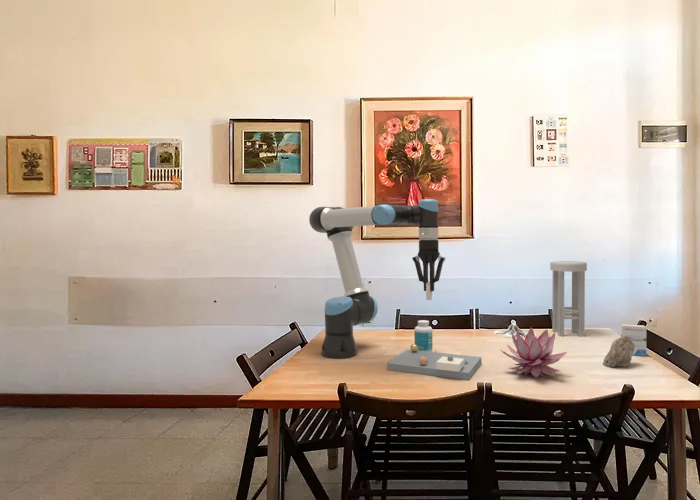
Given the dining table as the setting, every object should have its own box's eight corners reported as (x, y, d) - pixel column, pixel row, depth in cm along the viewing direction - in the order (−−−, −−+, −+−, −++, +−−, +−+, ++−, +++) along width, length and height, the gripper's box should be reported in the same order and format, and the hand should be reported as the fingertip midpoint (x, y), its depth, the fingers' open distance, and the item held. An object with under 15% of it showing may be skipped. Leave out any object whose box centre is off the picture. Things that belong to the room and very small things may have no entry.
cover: (436, 369, 165) (436, 358, 165) (442, 363, 172) (442, 353, 172) (458, 371, 161) (458, 361, 161) (464, 365, 168) (464, 355, 168)
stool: (546, 330, 237) (547, 261, 236) (579, 330, 235) (579, 260, 234) (555, 337, 222) (556, 263, 221) (590, 337, 220) (591, 263, 219)
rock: (628, 355, 167) (605, 344, 172) (619, 378, 171) (597, 366, 177) (643, 340, 175) (620, 330, 181) (634, 362, 180) (613, 352, 185)
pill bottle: (432, 355, 193) (432, 323, 192) (414, 355, 194) (413, 322, 194) (432, 351, 200) (432, 319, 200) (415, 350, 202) (414, 319, 201)
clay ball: (417, 365, 171) (417, 356, 170) (420, 363, 173) (420, 354, 173) (426, 366, 169) (426, 357, 169) (429, 364, 172) (428, 355, 172)
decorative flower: (560, 387, 153) (561, 341, 152) (494, 377, 164) (494, 334, 164) (569, 369, 171) (569, 328, 170) (509, 361, 182) (509, 323, 182)
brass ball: (409, 352, 189) (409, 344, 189) (411, 350, 192) (411, 342, 192) (416, 353, 187) (416, 345, 187) (419, 351, 190) (419, 343, 190)
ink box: (644, 353, 191) (644, 325, 191) (646, 356, 187) (646, 327, 186) (620, 351, 195) (620, 323, 194) (621, 354, 190) (622, 325, 190)
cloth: (545, 338, 223) (545, 325, 222) (511, 341, 218) (511, 328, 217) (516, 329, 244) (516, 317, 244) (484, 331, 239) (484, 319, 239)
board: (387, 369, 175) (387, 363, 174) (407, 355, 194) (407, 349, 194) (468, 380, 161) (468, 373, 161) (481, 363, 181) (481, 357, 181)
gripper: (409, 239, 182) (410, 300, 183) (442, 239, 176) (442, 301, 177) (415, 239, 189) (416, 297, 190) (447, 239, 183) (448, 299, 184)
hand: (429, 299), depth 184 cm, fingers closed
